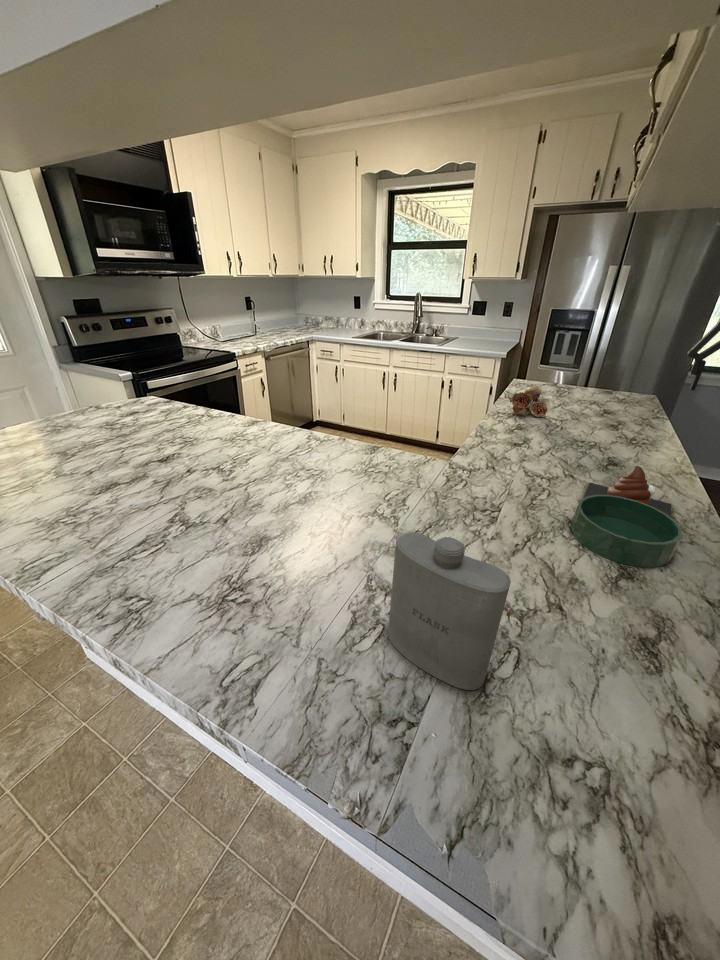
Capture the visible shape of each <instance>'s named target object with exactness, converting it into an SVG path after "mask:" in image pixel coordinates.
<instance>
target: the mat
mask: <svg viewBox="0 0 720 960" xmlns="http://www.w3.org/2000/svg"><path fill="white" fill-rule="evenodd" d="M609 488H610V486H609V487H608V486H606V485H605V486H604V485H600V484H597V483H594V482H589V483H588V485H587V487H586V490H585V493H584V495H583V497H582V499H583V498H584V497H586V496H592V495H607V490H608V489H609ZM650 500H651V505H650V506H652V507H654V508H656V509H658V510H660V511H662V512H664V513H666V514H667V515H668V516H670V517H671V518H672V503H669V502H665V501H661V500H658V499H653V498H650Z"/></svg>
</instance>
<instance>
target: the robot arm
mask: <svg viewBox="0 0 720 960" xmlns="http://www.w3.org/2000/svg"><path fill="white" fill-rule="evenodd" d="M719 333H720V318H718V320H717V322H716V324H715V325H714V326H713V327H712V328H711V329H710V330H709V331H708V332H707V333H706V334H705V335H704V336H703V337H701V338H700V340H698V342H696V343H695V344H694V345H693V346H692V347H691V348H690V349H689V350H688V351H687V356H688V357H689V358H691V359H693V360H694V362H693V364H692V367H691V369H690V375H691V376H693V378H692V380H691V381H692V382H691V384H690V385H689V389H690V391H696V388H697V386H698V383H699V381H700V378H701V376H702V373H703V371H704V368H705V366H706V364H707V361H706V360H705V359H706V358H708V357H709V356H712V355H713V354H714V353H716V352H717V351H720V340H718V341H716V342H715V343H713V344H712V345H710V346H709V347H707V348H706V349H704V350H703V351H701V350H702V349H703V348H704V347H705V346H706V345H707V344H709V342H711V340H712V339H713V338H714V337H716V336H717V334H719ZM700 351H701V352H700Z"/></svg>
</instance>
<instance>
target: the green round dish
mask: <svg viewBox="0 0 720 960" xmlns="http://www.w3.org/2000/svg"><path fill="white" fill-rule="evenodd" d="M583 497H584V496H583ZM583 497H582V498H581V499H579V500H578V503H577V505H576V508H575V512H574V515H573V517H572V520H571V524H570V531H571V533H572V535H573V537H574V538H575V539H576V540H577V541H578V543H580V544H581V545H582V546H583V547H584V548H586V549H588V550H589V551H591V552H592V553H594V554H596V555H598V556H600V557H603V558H604V559H606V560H609V561H612V562H615V563H618V564H621V565H626V566H630V567H635V568H636V567H637V568H646V569H647V568H658V567H662V566H665V565H667V564H668V563H669V562H670V561H671V559H673V557H674V555H675V553H676V551H677V550H678V547H679V545H680V543H681V541H682V539H683V537H684V535H683V528H682V527H681V526H680V525H679V523H678V522H677V520H675V519H674V518H672V516H671V517H670V516H668V515H667V514H666V513H664V512H662V511H660V510H658V509H656V508H654V507H652V506H650V505H647V504H645V503H642V502H639V501H636V500H632V499H629V498H625V497H620V496H613V495H592V496H586V497H584V498H583Z"/></svg>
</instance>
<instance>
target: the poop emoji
mask: <svg viewBox="0 0 720 960" xmlns="http://www.w3.org/2000/svg"><path fill="white" fill-rule="evenodd" d="M656 491H657V490H656V487H655V486H654V485H652V484H649V483H648V480H647V479H646V474H645V471H644V469H643V468H642V467H641V466H639V465H635V466H634V468H633V469H632V470H631V471H630V472H629V473H628V474H623V475H622V477H620V479H619V480H616V481H615V482H614V484H612V485H611V486H609V489H608V490H607V495H613V496H620V497H625V498H629V499H632V500H636V501H639V502H642V503H645V504H647V505H651V500H650V499H651V497H652V496H654V495H655V494H656Z"/></svg>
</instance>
